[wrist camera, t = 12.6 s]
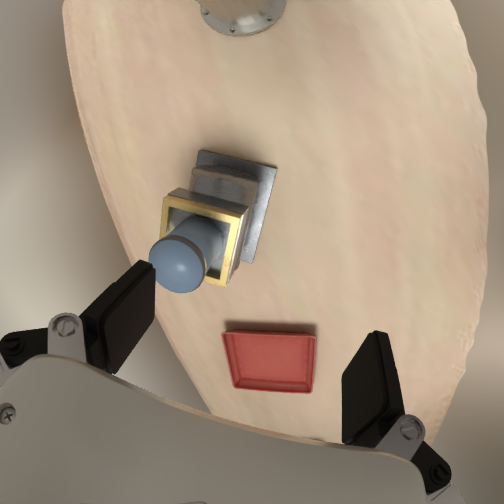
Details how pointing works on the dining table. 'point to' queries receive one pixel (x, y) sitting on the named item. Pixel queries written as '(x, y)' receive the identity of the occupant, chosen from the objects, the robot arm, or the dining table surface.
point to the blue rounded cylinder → (186, 254)
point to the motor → (223, 207)
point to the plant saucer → (270, 360)
